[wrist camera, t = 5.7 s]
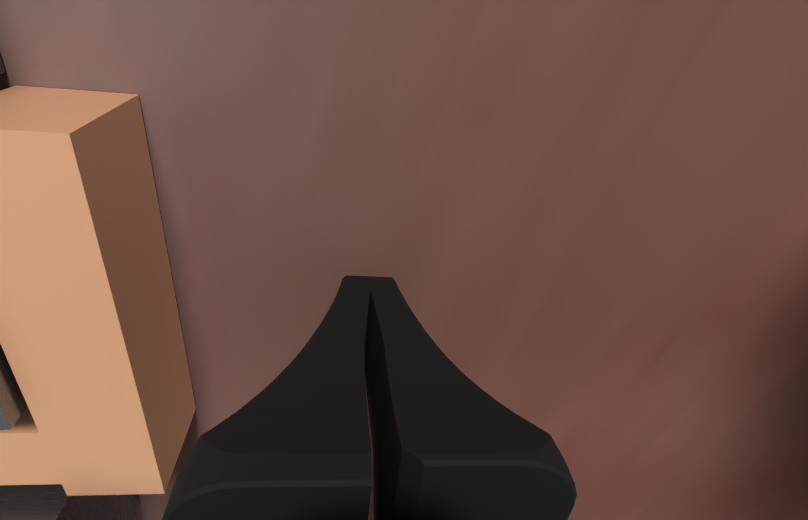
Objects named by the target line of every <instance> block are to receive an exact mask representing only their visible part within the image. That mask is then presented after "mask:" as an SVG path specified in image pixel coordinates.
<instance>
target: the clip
mask: <svg viewBox="0 0 808 520" xmlns="http://www.w3.org/2000/svg"><path fill="white" fill-rule="evenodd" d="M0 344H1V346H2V349H3V351H4V353H5V355H6V358H7V360H8V362H9V365H10V367H11V369H12V371H13V374H14V376H15V378H16V381H17V383H18V385H19V387H20V390H21V392H22V394H23V397H24V399H25V401H26V403H27V406H28V407H27V408H26V410H25V411H24V412H23V414H22V415H21V416H20V418H19V419H18V420H17V422H16V423H15V424H14V425H13V427H12V428H11V429H10V430H0V485H47V484H62V486H63V488H64V490H65V492H66V495H67V496H78V495H129V494H165V492H166V489H167V486H168V484H169V481H170V478H171V475H172V473H173V470H174V467H175V465H176V462H177V459H178V456H179V454H180V451H181V448H182V445H183V443H184V440H185V437H186V435H187V432H188V429H189V426H190V424H191V421H192V418H193V416H194V413H195V410H196V406H195V400H194V395H193V389H192V384H191V378H190V373H189V367H188V362H187V356H186V351H185V346H184V340H183V335H182V329H181V324H180V318H179V313H178V307H177V302H176V296H175V291H174V285H173V280H172V275H171V269H170V264H169V258H168V253H167V247H166V242H165V236H164V231H163V225H162V220H161V215H160V209H159V204H158V198H157V193H156V187H155V182H154V176H153V171H152V165H151V160H150V154H149V149H148V144H147V138H146V133H145V127H144V122H143V116H142V111H141V105H140V100H139V94H125V93H112V92H98V91H85V90H71V89H58V88H44V87H30V86H17V85H16V86H13V87H10V88H7V89H4V90H1V91H0Z"/></svg>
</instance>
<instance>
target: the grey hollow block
mask: <svg viewBox="0 0 808 520" xmlns="http://www.w3.org/2000/svg"><path fill="white" fill-rule="evenodd" d="M2 73H5V69H4V66H3V63H2V60H1V56H0V74H2ZM27 407H28V406H27V403H26V401H25V399H24V397H23V394H22V392H21V390H20V387H19V385H18V383H17V381H16V378H15V376H14V374H13V371H12V369H11V367H10V365H9V362H8V360H7V358H6V355H5V353H4V351H3V349H2V346H1V344H0V430H10V429H11V428H12V427H13V425H14V424H15V423H16V422H17V420H18V419H19V418H20V416H21V415H22V414H23V412H24V411H25V410H26V408H27ZM139 503H140V502H139V499H138V496H137V494H129V495H78V496H67V495H66V492H65V490H64V488H63V486H62V484H47V485H0V520H133V518H134V515H135V513H136V511H137V508H138V506H139Z"/></svg>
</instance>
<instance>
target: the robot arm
mask: <svg viewBox="0 0 808 520" xmlns="http://www.w3.org/2000/svg"><path fill="white" fill-rule="evenodd" d="M365 378H366V387H367V397H368V406H369V415H370V424H371V433H372V444H373V477H374V520H567V519H568V517H569V515H570V513H571V511H572V509H573V506H574V503H575V499H576V495H577V494H576V488H575V483H574V481H573V479H572V476H571V474H570V471H569V469H568V467H567V464H566V463H565V461H564V459H563V457H562V455H561V453H560V451H559V449H558V448H557V446H556V444H555V442H554V441H553V439H552V437H551V435H550V434H548V433H547V432H545V431H543V430H542V429H540V428H538V427H537V426H535V425H533V424H532V423H530V422H528V421H527V420H525V419H523V418H522V417H520V416H518V415H517V414H515V413H513V412H512V411H511V410H509V409H508V408H506V407H505V406H503V405H502V404H501V403H499V402H498V401H496V400H495V399H494V398H492V397H491V396H490V395H488V394H487V393H486V392H484V391H483V390H482V389H481V388H480V387H478V386H477V385H476V384H475V383H474V382H473V381H471V380H470V379H469V378H468V377H467V376H465V375H464V374H463V373H462V372H461V371H460V370H459V369H458V368H457V367H456V366H455V365H454V364H453V363H452V362H451V361H450V360H449V359H448V358H447V357H446V355H445V354H444V353H443V352H442V351H441V350H440V349H439V347H438V346H437V345H436V344H435V342H434V341H433V340H432V339H431V337H430V336H429V335H428V334H427V332H426V331H425V330H424V328H423V327H422V325H421V324H420V323H419V321H418V320H417V318H416V317H415V315H414V314H413V312H412V311H411V309H410V307H409V306H408V304H407V302H406V301H405V299H404V297H403V296H402V294H401V292H400V290H399V288H398V286H397V284H396V282H395V280H394V279H393V278H392V277H367V276H345V277H344V278H343V279H342V281H341V285H340V288H339V291H338V293H337V296H336V298H335V300H334V302H333V304H332V306H331V307H330V309H329V311H328V313H327V314H326V316H325V318H324V319H323V321H322V323H321V324H320V326H319V327H318V328H317V330H316V331H315V333H314V334H313V336H312V337H311V339H310V340H309V341H308V343H307V344H306V345H305V347H304V348H303V349H302V350H301V352H300V353H299V354H298V355H297V356H296V357H295V359H294V360H293V361H292V362H291V363H290V364H289V365H288V366H287V367H286V368H285V369H284V370H283V371H282V372H281V374H280V375H279V376H278V377H277V378H276V379H275V380H274V381H273V382H271V383H270V384H269V385H268V386H267V387H266V388H265V389H264V390H263V391H261V392H260V393H259V394H258V395H257V396H255V397H254V398H253V399H252V400H251V401H249V402H248V403H247V404H246V405H245V406H243V407H242V408H241V409H240V410H238V411H237V412H236V413H234V414H233V415H231V416H230V417H229V418H227V419H226V420H224V421H223V422H221V423H220V424H218V425H217V426H215V427H214V428H212V429H211V430H209V431H208V432H206V433H205V434H203V435H202V436H200V438H199V440H198V441H197V443H196V444H195V446H194V448H193V449H192V451H191V453H190V454H189V456H188V458H187V460H186V462H185V464H184V466H183V468H182V470H181V472H180V474H179V476H178V478H177V480H176V482H175V485H174V487H173V490H172V493H171V495H170V498H169V501H168V504H167V507H166V510H165V512H164V515H163V518H162V520H368V513H369V503H370V494H371V450H370V440H369V429H368V418H367V403H366V387H365Z"/></svg>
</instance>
